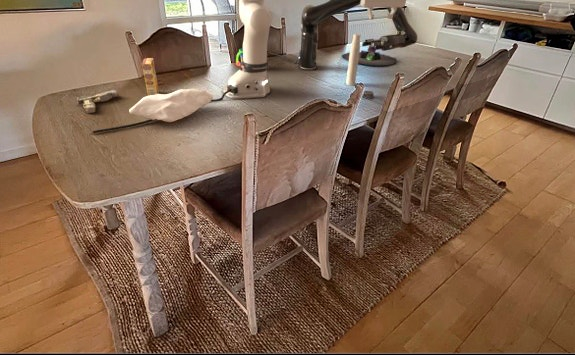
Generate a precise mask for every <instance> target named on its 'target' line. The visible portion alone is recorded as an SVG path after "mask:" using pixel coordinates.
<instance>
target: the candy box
mask: <svg viewBox="0 0 575 355" xmlns="http://www.w3.org/2000/svg"><path fill="white" fill-rule="evenodd" d="M141 66H142V73H143V78H144V82H145V87H146V92H147V96H150V95H156V94H159V91H160V90H159V84H158V79H157V73H156V66H155V62H154V58H153V57H151V58H150V57H149V58H146V57H145V58H143V60H142V63H141Z"/></svg>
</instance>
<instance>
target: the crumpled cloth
mask: <svg viewBox="0 0 575 355" xmlns="http://www.w3.org/2000/svg"><path fill="white" fill-rule="evenodd" d="M213 97H214V96H213V94H212V93H210V92H208V91H206V90H203V89H201V88H187V89H186V88H185V89H184V88H183V89H177V90H175V91H173V92H171V93H167V94H163V93H158V94H156V95H150V96H148V95H146V96H144V97H142V98H141V99H140V100H139V101H138V102H137V103H136V104H134V105H133V106H132V107H131V108H129V114H130V115H135V116H140V117H145V118H146V119H148V120H150V119H152V120H155V119H158V121H163V122H166V123H174V122H176V121H178V120H181V119H183V118H185V117H188V116H190V115H192V114H193V113H195V112H196V111H197V110H199V109H200V108H202V107H204V106H206V105H207V104H210V102H212V101H211V100H213V99H214V98H213ZM155 121H156V120H155Z"/></svg>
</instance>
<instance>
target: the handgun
mask: <svg viewBox="0 0 575 355" xmlns="http://www.w3.org/2000/svg"><path fill="white" fill-rule="evenodd" d="M119 96H120V94H119V92H118V91H117V90H116V89H112V90H108V91H105V92H104V91H103V92H101V93H96V94H94V95H86V94H85V95H84V94H83V95H81V96H80V97H77V98H76V101H77V104H78V105H82V108H83V109H84V110H85V113H87V114H91V113H95V112H96V104H95V103H98V102H106V101H109V100H111V99H113V98H117V97H119Z"/></svg>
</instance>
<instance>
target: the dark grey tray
mask: <svg viewBox="0 0 575 355" xmlns="http://www.w3.org/2000/svg"><path fill="white" fill-rule="evenodd" d="M349 56H350V52H347V53H343V54H342V55H341V58H343V60H346V61H348V62H349ZM396 63H397V58H395V57H391V56H390V55H386V54H383V53H380V51H378V52H377V50H375V47H371V46H368V48H367V50H360V52H359V59H358V64H360V65H365V66H376V67H377V66H378V67H380V66H390V65H393V64H396Z"/></svg>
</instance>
